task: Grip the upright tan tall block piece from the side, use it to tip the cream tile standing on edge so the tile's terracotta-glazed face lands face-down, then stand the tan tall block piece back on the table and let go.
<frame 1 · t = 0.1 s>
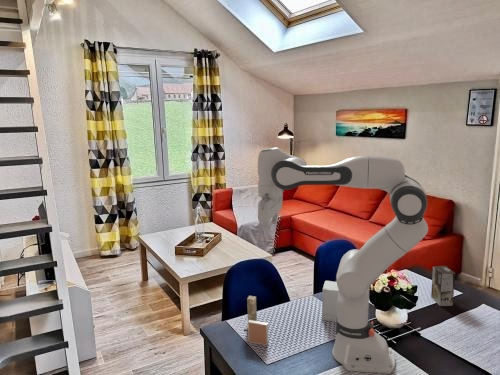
hand: (270, 227, 143), 48 cm above the table, tool pointing down, fingers open, 8 cm apart
supplement box: (333, 317, 169), on the table
coffee box: (441, 301, 179), on the table
tan tall block piece: (252, 326, 163), on the table
tile: (258, 342, 152), on the table
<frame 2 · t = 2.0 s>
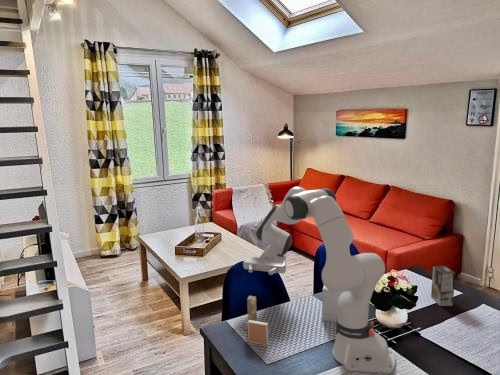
hand: (259, 272, 170), 20 cm above the table, tool horizontal, fingers open, 8 cm apart
nothing on the table moved.
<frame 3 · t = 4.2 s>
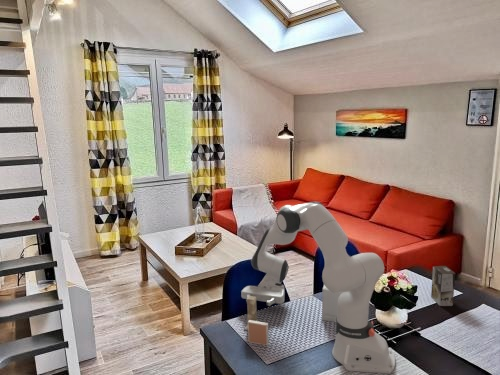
hand: (257, 302, 168), 7 cm above the table, tool horizontal, fingers open, 8 cm apart
nothing on the table moved.
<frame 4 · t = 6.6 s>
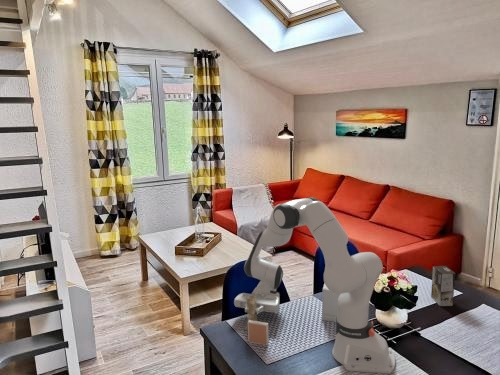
hand: (251, 311, 161), 8 cm above the table, tool horizontal, fingers closed on tan tall block piece, 3 cm apart
tan tall block piece: (252, 326, 163), on the table, touching gripper
everything else where it was.
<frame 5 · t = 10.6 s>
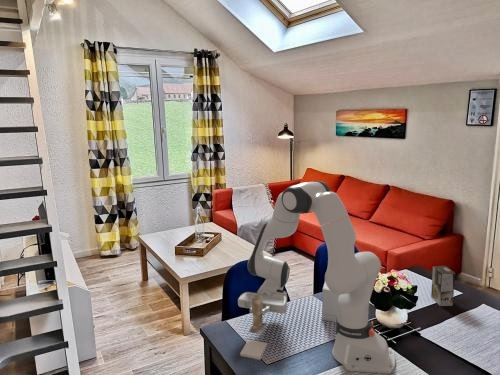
hand: (256, 312, 148), 14 cm above the table, tool horizontal, fingers closed on tan tall block piece, 3 cm apart
tan tall block piece: (258, 328, 150), point 6 cm above the table, touching gripper
tile: (257, 342, 151), on the table, tilted 90°
everything else where it was.
when the fingers open (9 cm above the table, at t = 14.2 s): tan tall block piece drops 1 cm, on the table.
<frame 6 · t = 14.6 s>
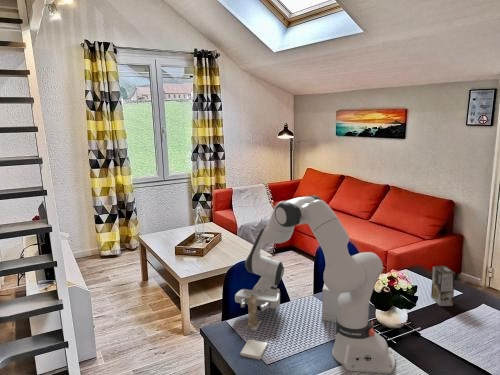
hand: (252, 307, 161), 9 cm above the table, tool horizontal, fingers open, 7 cm apart
tan tall block piece: (253, 325, 164), on the table
everything else where it was.
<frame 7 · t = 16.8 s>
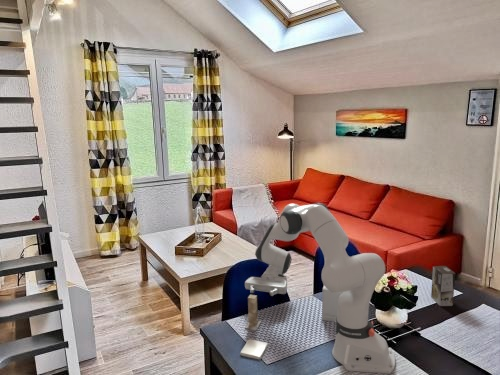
hand: (261, 293, 173), 9 cm above the table, tool horizontal, fingers open, 8 cm apart
nothing on the table moved.
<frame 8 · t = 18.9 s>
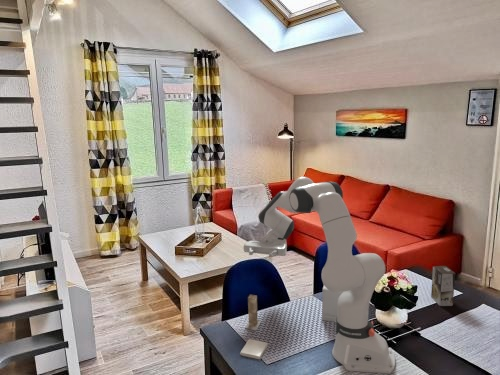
hand: (260, 254, 169), 28 cm above the table, tool horizontal, fingers open, 8 cm apart
nothing on the table moved.
at the end: tile tilted 90°; tan tall block piece tilted 0°; the gripper is holding nothing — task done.
